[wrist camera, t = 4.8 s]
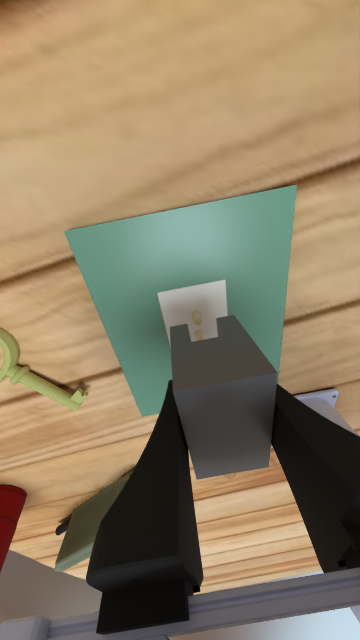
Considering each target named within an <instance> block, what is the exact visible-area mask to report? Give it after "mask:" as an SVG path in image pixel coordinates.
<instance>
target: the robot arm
mask: <svg viewBox="0 0 360 640" xmlns="http://www.w3.org/2000/svg"><path fill="white" fill-rule="evenodd" d="M338 394H339V391H338V390H337V389H329V390H323V391H318V392H312V393H307V394H301V395H296V396H293V395H291V394H290V393H289V392H287V391H286V390H285V389H284V388H282V387H281V386H280V385H279V384H277V386H276V396H275V406H274V417H273V427H272V437H271V444H272V446H273V448H274V450H275V452H276V455H277V457H278V459H279V462H280V464H281V466H282V469H283V471H284V473H285V476H286V478H287V481H288V483H289V486H290V488H291V490H292V493H293V495H294V498H295V500H296V503H297V505H298V508H299V511H300V513H301V516H302V518H303V521H304V523H305V526H306V529H307V531H308V534H309V537H310V539H311V542H312V545H313V547H314V550H315V553H316V555H317V558H318V561H319V564H320V566H321V568H322V570H323V572H324V573H323V574H317V575H312V576H305V577H299V578H293V579H288V580H282V581H276V582H270V583H264V584H258V585H252V586H246V587H240V588H234V589H229V590H223V591H217V592H211V593H205V594H199V595H193V593H196V592H200V586H201V583H202V581H203V578H204V577H203V570H202V562H201V555H200V548H199V540H198V532H197V525H196V517H195V509H194V501H193V493H192V485H191V476H190V468H189V454H188V445H187V442H186V438H185V434H184V431H183V427H182V423H181V420H180V416H179V412H178V409H177V405H176V401H175V398H174V394H173V383H172V380H169V381H168V386H167V391H166V395H165V398H164V402H163V405H162V408H161V411H160V414H159V417H158V419H157V422H156V424H155V427H154V430H153V432H152V434H151V436H150V439H149V441H148V443H147V445H146V447H145V449H144V451H143V453H142V455H141V457H140V459H139V461H138V463H137V464H136V466H135V468H134V470H133V471H132V473H131V475H130V477H129V478H128V480H127V482H126V483H125V485H124V487H123V488H122V490H121V491H120V493H119V495H118V496H117V498H116V499H115V501H114V502H113V504H112V505H111V507H110V508H109V510H108V511H107V513H106V514H105V516H104V517H103V518H102V520H101V522H100V525H99V528H98V531H97V534H96V538H95V541H94V544H93V548H92V552H91V557H90V561H89V566H88V571H87V575H86V581H87V583H88V584H89V585H90V586H92V587H93V588H95V589H97V590H99V591H101V592H103V593H102V599H101V605H100V611H98V612H93V613H86V614H80V615H75V616H69V617H63V618H57V619H50V618H49V617H46V616H31V617H25V618H19V619H13V620H8V621H4V622H3V623H2V624H1V625H0V640H169V638H167V637H172V636H178V635H184V634H190V633H196V632H202V631H208V630H214V629H220V628H226V627H233V626H238V625H245V624H250V623H257V622H262V621H269V620H275V619H281V618H287V617H293V616H298V615H305V614H311V613H317V612H322V611H329V610H335V609H341V608H346V607H350V608H351V610H352V612H353V613H354V615H355V616H356V618H357V619H358V621H359V622H360V436H359V435H358V434H357V433H356V432H355V431H354V430H353V429H352V427H351V426H350V425H349V424H348V423H347V422H346V421H345V420H344V419H343V418H342V417H341V415H340V414H339V413H338V412H337V411H336V410H335V409H334V407H335V404H336V401H337V397H338Z"/></svg>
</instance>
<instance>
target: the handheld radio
mask: <svg viewBox="0 0 360 640" xmlns="http://www.w3.org/2000/svg"><path fill="white" fill-rule="evenodd" d="M132 471H133V470H132ZM132 471H131V472H129V473H128V474H126V475H125V476H123V477H122V478H120V479H119V480H117V481H116V482H114V483H113V484H111V485H110V486H108V487H107V488H105V489H104V490H102V491H101V492H99V493H98V494H96V495H95V496H93V497H92V498H90V499H89V500H87V501H86V502H84V503H83V504H81V505H80V506H78V507H77V508H76V509H74V511H73V514H72V517H71V519H69V520H67V521H66V522H64V523H62V524H61V525H59V526H58V527H57V529H56V535H60V534H62V533H63V532H65V531H66V534H65V537H64V540H63V542H62V545H61V548H60V551H59V554H58V557H57V560H56V564H55V566H56V567H55V569H54V570H55V571H59V572H62V571H64V570H66V569H68V568H70V567H72V566H74V565H76V564H78V563H79V562H81V561H83V560H85V559H87V558H89V557H91V552H92V548H93V544H94V541H95V538H96V534H97V531H98V528H99V525H100V522H101V520H102V518H103V517H104V516H105V514H106V513H107V511H108V510H109V508H110V507H111V505H112V504H113V502H114V501H115V499H116V498H117V496H118V495H119V493H120V491H121V490H122V488H123V487H124V485H125V483H126V482H127V480H128V478H129V477H130V475H131V473H132Z"/></svg>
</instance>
